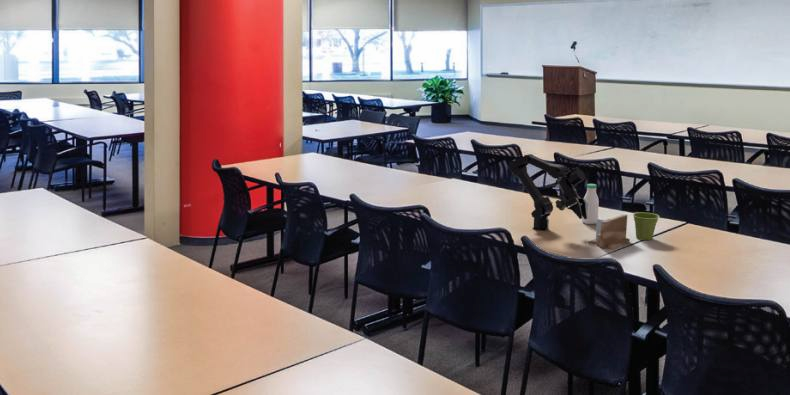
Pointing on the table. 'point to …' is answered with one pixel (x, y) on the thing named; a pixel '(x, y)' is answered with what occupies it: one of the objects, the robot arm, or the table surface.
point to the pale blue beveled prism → (599, 225)
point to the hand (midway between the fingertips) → (583, 218)
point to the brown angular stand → (612, 233)
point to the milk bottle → (591, 205)
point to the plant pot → (645, 225)
